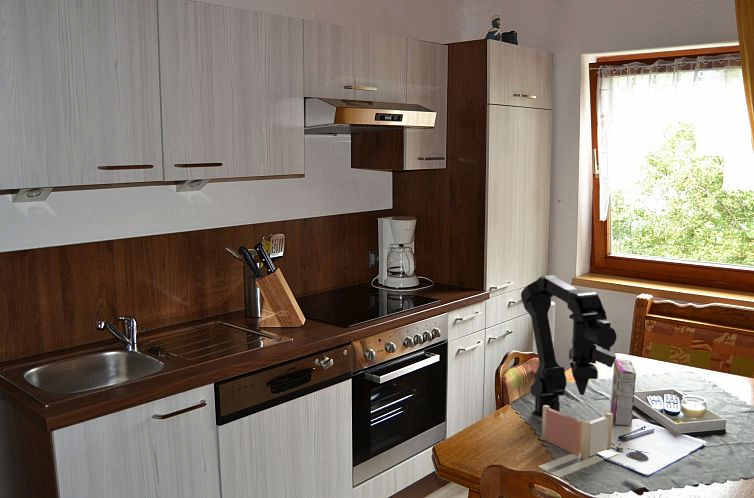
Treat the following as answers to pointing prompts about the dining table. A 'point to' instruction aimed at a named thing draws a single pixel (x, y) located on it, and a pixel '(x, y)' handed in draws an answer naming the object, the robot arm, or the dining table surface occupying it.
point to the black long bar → (551, 322)
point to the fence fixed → (596, 435)
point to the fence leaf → (561, 430)
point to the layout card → (569, 464)
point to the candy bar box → (623, 392)
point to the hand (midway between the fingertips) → (581, 392)
